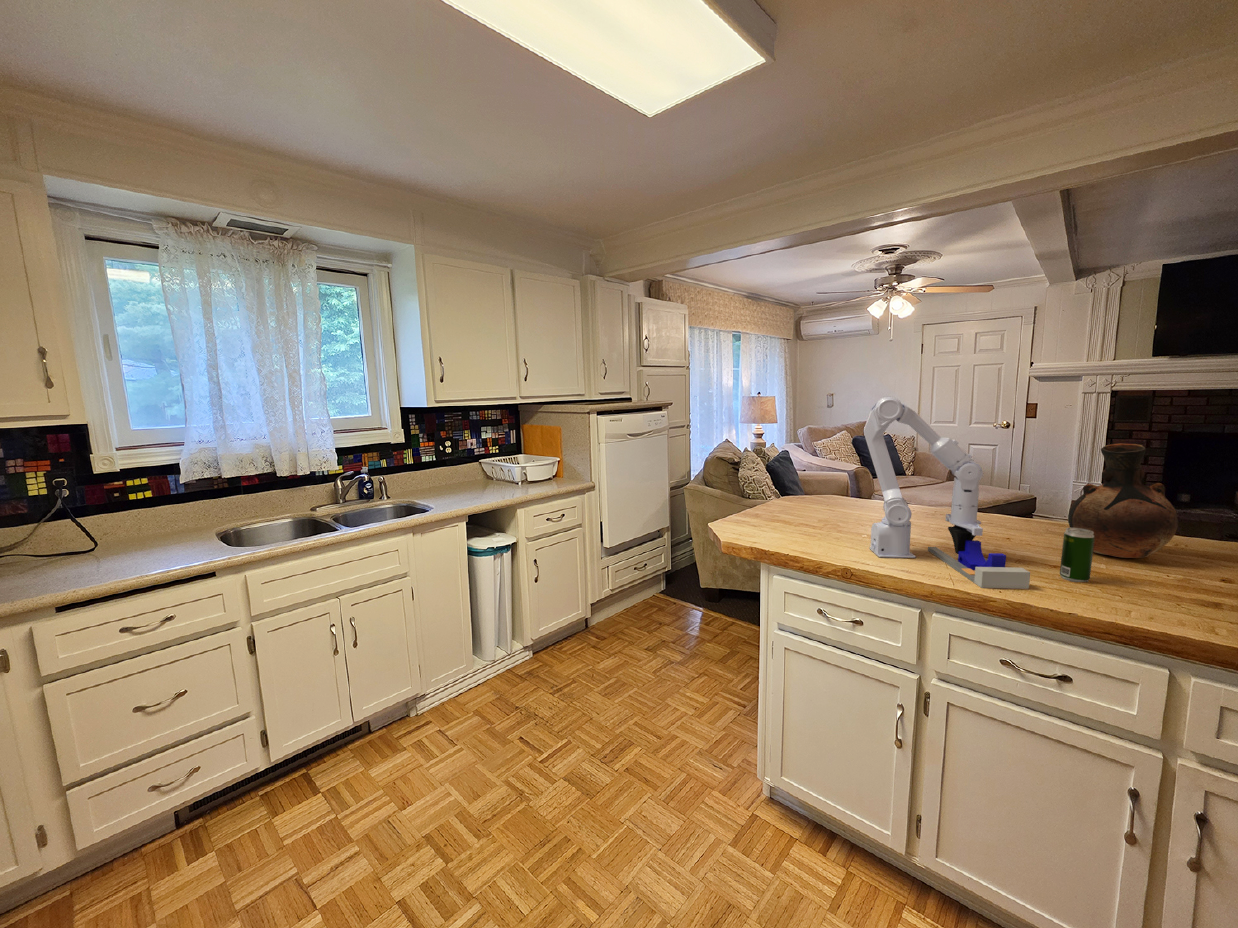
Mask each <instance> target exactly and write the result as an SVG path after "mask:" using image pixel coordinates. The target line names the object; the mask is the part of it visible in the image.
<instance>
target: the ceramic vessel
mask: <svg viewBox="0 0 1238 928" xmlns="http://www.w3.org/2000/svg"><path fill="white" fill-rule="evenodd" d="M1146 451H1147V448H1146V446H1143V445H1142V444H1136V443H1120V442H1119V443H1114V444H1113V443H1112V444H1107V445H1104V446H1103V447H1101V448H1100V452H1101V454H1102V456H1103V458H1104V461H1105V465H1106V468H1105V469H1103V471H1102V472H1101V479H1102V480H1104V481H1105V482H1104V483H1102V484H1099V485H1098V486H1097V485H1096V484H1093V483H1088V484H1085V485H1083V489H1082V491H1083V494H1081V495H1080V496H1079V497H1078V498H1077V499H1075V501H1074V502H1073V503H1072V505H1071V507H1070V509H1069V511H1068V516H1067V523H1068V525H1069V528H1082V529H1088V530H1091V531H1093V532H1094V536H1095V540H1094V548H1093V553H1096V554H1100V555H1106V556H1112V557H1117V558H1123V559H1126V558H1127V559H1139V558H1147V557H1148V556H1150V555H1152V554H1154V553H1156V552H1158V551H1159V550H1161V549H1163V548H1164V546H1166V545H1167V544H1168V543H1170V541H1171V540H1172V539H1173V538H1174V537H1175V534H1176V532H1177V529H1178V525H1179V524H1178V512H1177V510H1176V508H1175V507H1174V506H1173V504H1172V502H1171V501H1169V499H1168V498H1167V497H1166V487H1165V485H1164V484H1162V483H1160V482H1157V483H1156V482H1155V483H1154V484H1152V485H1145V484H1143V483H1142V482H1141V481H1142V479H1144V478H1145V471H1144V470H1143V468H1141V465H1142V464H1141V463H1142V461H1143V458H1144V456H1145V454H1146Z"/></svg>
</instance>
